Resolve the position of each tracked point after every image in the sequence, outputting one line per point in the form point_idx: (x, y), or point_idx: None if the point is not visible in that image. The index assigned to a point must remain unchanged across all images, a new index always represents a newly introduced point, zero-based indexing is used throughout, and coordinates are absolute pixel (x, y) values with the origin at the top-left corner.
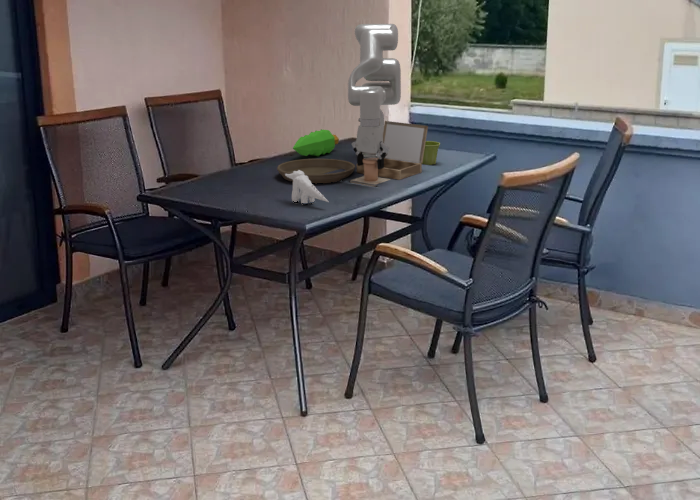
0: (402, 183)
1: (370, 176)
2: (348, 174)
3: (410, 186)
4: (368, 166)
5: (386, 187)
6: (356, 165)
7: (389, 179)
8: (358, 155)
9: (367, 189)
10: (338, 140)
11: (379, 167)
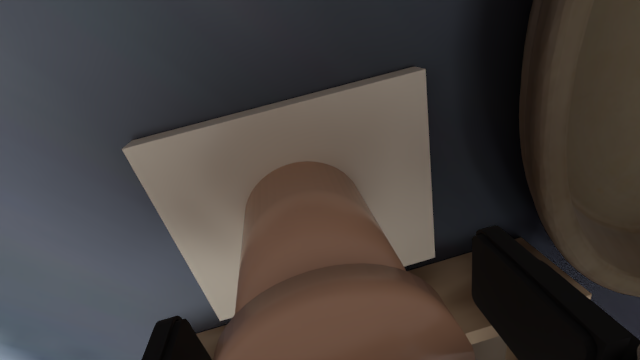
0: (139, 338)
1: (257, 205)
2: (520, 129)
3: (19, 343)
4: (277, 267)
5: (71, 207)
6: (579, 284)
7: (222, 313)
8: (617, 358)
9: (74, 17)
10: None
11: (157, 347)
